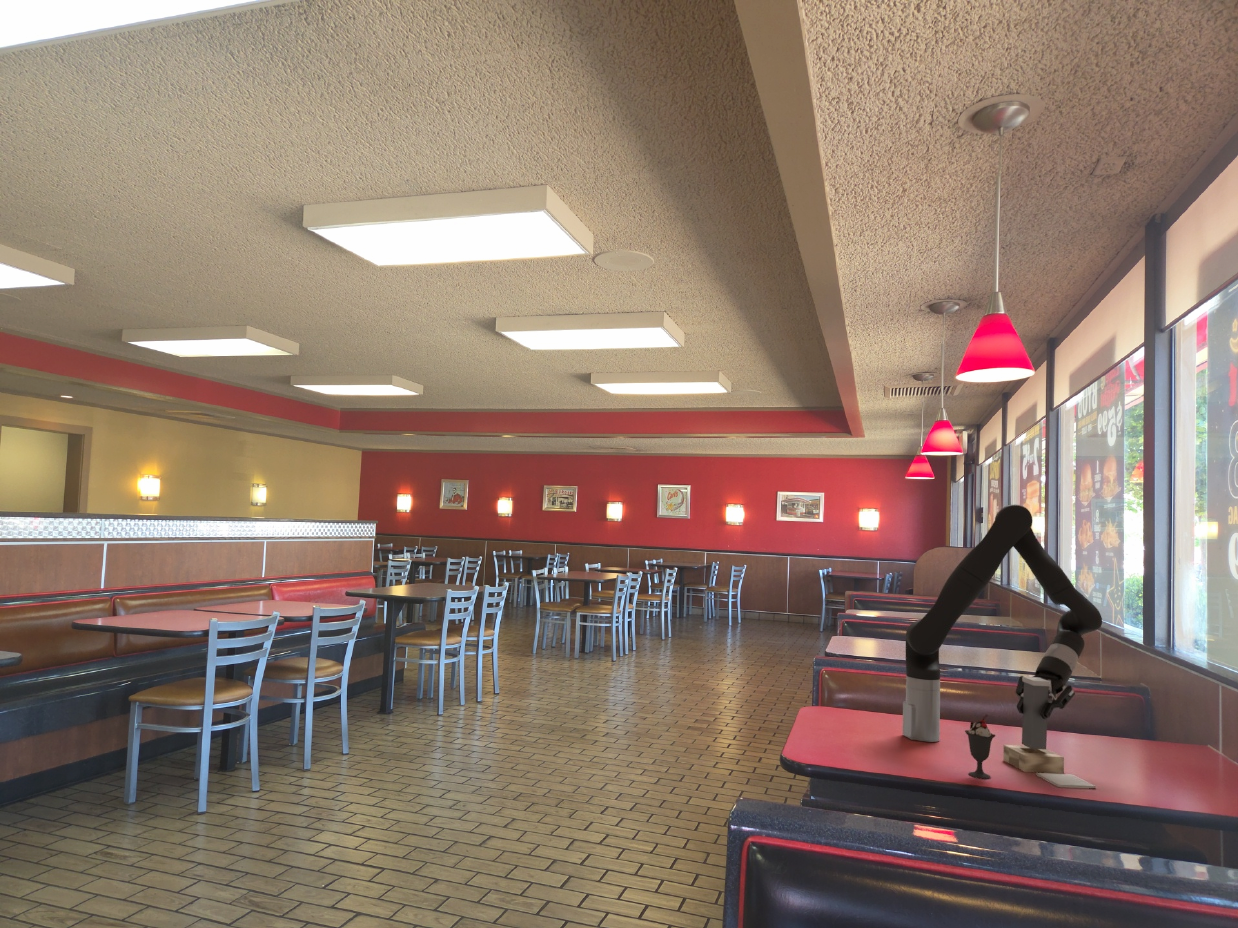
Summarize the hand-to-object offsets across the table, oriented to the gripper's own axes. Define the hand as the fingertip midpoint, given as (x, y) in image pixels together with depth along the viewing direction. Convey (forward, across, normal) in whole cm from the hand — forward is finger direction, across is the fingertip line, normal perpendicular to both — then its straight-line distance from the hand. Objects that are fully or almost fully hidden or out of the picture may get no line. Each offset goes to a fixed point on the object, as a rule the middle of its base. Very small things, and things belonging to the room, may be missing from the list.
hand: (1031, 713), depth 197 cm
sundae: (+24, -1, -4) cm, 24 cm away
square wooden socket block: (+8, 0, +11) cm, 14 cm away
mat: (+12, +10, +7) cm, 17 cm away
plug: (+5, 0, +7) cm, 9 cm away
